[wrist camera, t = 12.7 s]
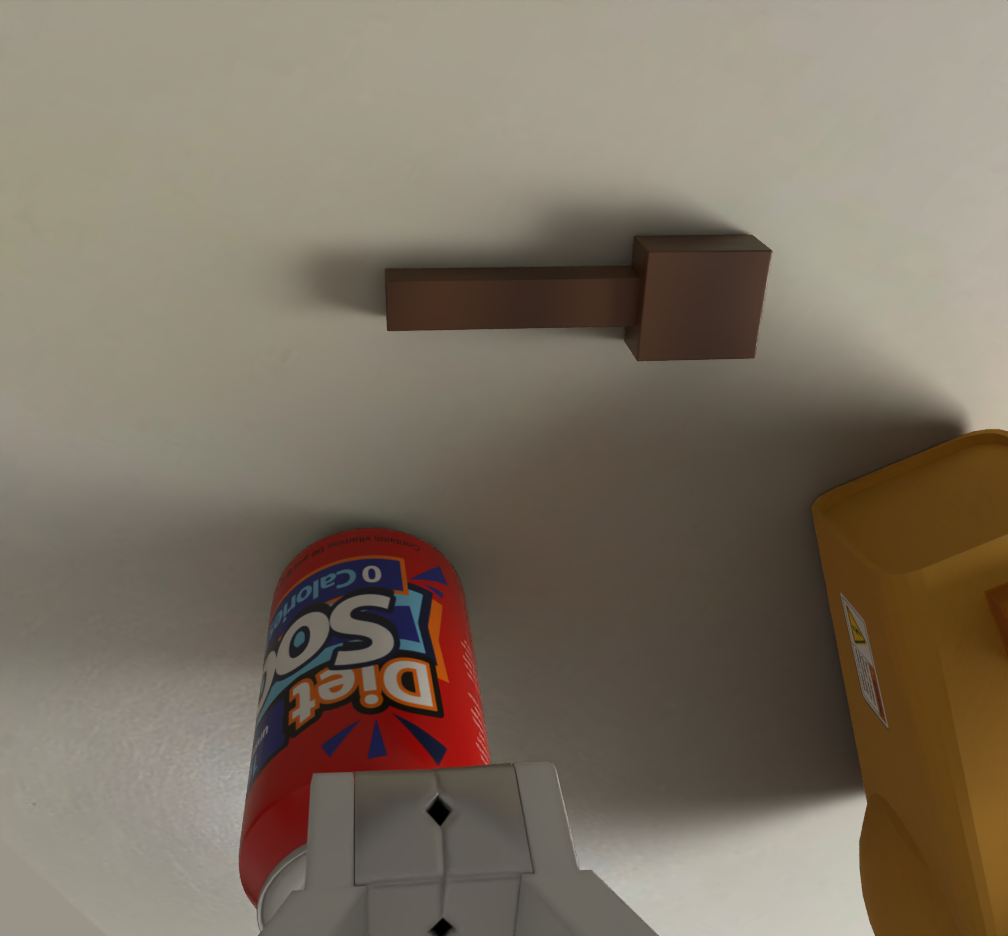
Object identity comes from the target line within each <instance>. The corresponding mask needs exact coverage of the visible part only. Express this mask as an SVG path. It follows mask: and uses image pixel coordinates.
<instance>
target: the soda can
mask: <svg viewBox="0 0 1008 936" xmlns="http://www.w3.org/2000/svg"><path fill="white" fill-rule="evenodd" d="M490 764H491V759H490V752H489V746H488V739H487V733H486V727H485V720H484V714H483V707H482V701H481V694H480V688H479V682H478V675H477V669H476V662H475V656H474V649H473V643H472V637H471V630H470V624H469V617H468V611H467V605H466V599H465V594H464V590H463V587H462V584H461V581H460V579H459V576H458V574H457V572H456V571H455V569H454V567H453V566H452V565H451V563H450V562H449V561H448V560H447V558H446V557H445V556H444V555H443V554H442V553H440V552H439V551H438V550H437V549H436V548H434V547H433V546H431V545H430V544H428V543H427V542H425V541H423V540H421V539H419V538H417V537H414V536H412V535H409V534H406V533H403V532H399V531H395V530H389V529H381V528H362V529H354V530H348V531H344V532H340V533H336V534H333V535H331V536H328V537H326V538H323V539H321V540H319V541H317V542H315V543H314V544H312V545H310V546H309V547H307V548H306V549H305V550H303V551H302V552H301V553H300V554H298V555H297V556H296V557H295V558H294V559H293V560H292V561H291V563H290V564H289V565H288V566H287V568H286V569H285V570H284V572H283V574H282V575H281V577H280V579H279V581H278V584H277V587H276V589H275V592H274V596H273V600H272V606H271V613H270V620H269V627H268V635H267V642H266V650H265V657H264V665H263V673H262V680H261V688H260V695H259V703H258V710H257V718H256V725H255V733H254V740H253V748H252V755H251V763H250V770H249V778H248V785H247V793H246V800H245V808H244V816H243V823H242V831H241V839H240V849H239V872H240V878H241V882H242V886H243V888H244V891H245V893H246V895H247V897H248V898H249V900H250V901H251V903H252V904H253V905H254V907H255V908H256V909H257V921H258V926H259V929H260V932H261V931H262V930H263V928H264V927H265V926H266V925H267V923H268V922H269V921H270V919H271V918H272V917H273V915H274V914H275V913H276V911H277V910H278V909H279V907H280V906H281V905H282V903H283V902H284V901H285V899H286V898H287V897H288V896H289V894H290V893H291V892H292V891H295V890H305V873H306V856H307V838H308V821H309V804H310V786H311V781H312V777H313V773H337V772H354V776H355V771H386V770H422V769H434V768H444V767H459V766H475V765H490Z"/></svg>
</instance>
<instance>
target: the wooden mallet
mask: <svg viewBox="0 0 1008 936" xmlns="http://www.w3.org/2000/svg"><path fill="white" fill-rule="evenodd" d="M771 257H772V250H771V249H770V248H768V247H767V246H766V245H765V244H763V243H762V242H761V241H759V240H758V239H757V238H756V237H754V236H753V235H668V236H634V243H633V253H632V264H631V266H592V267H506V268H420V269H385V291H386V319H387V330H388V331H417V330H468V329H518V328H569V327H620V326H626V327H625V338H624V341H625V343H626V344H627V346H628V347H629V349H630V350H631V352H632V354H633V355H634V357H635V358H636V360H637V361H667V360H708V359H749V358H755V353H756V347H757V341H758V335H759V329H760V323H761V317H762V311H763V305H764V299H765V293H766V287H767V281H768V275H769V269H770V263H771Z"/></svg>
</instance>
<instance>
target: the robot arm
mask: <svg viewBox="0 0 1008 936" xmlns="http://www.w3.org/2000/svg"><path fill="white" fill-rule="evenodd" d="M258 936H659V935H658V934H657V933H656V932H655V931H654V930H653V929H652V928H651V927H649V926H648V925H647V924H646V923H645V922H644V921H643V920H642V919H641V918H640V917H639V916H638V915H637V914H636V913H635V912H634V911H633V910H632V909H631V908H630V907H629V906H628V905H627V904H626V903H625V902H624V901H623V900H622V899H621V898H620V897H619V896H618V895H617V894H616V893H615V892H614V891H613V890H612V889H611V888H610V887H609V886H608V885H607V884H606V883H605V882H604V881H603V880H602V879H600V878H599V877H598V876H597V875H596V874H595V873H594V872H593V871H592V870H580V868H579V864H578V860H577V855H576V851H575V847H574V842H573V838H572V834H571V830H570V825H569V821H568V817H567V813H566V808H565V804H564V800H563V795H562V791H561V787H560V783H559V778H558V774H557V770H556V767H555V765H554V764H553V763H552V761H546V762H528V763H513V764H512V765H511V763H505V764H490V765H475V766H459V767H444V768H434V769H422V770H386V771H355V776H354V772H337V773H313V777H312V781H311V786H310V804H309V821H308V838H307V856H306V873H305V890H295V891H292V892H291V893H290V894H289V896H288V897H287V898H286V899H285V901H284V902H283V903H282V905H281V906H280V907H279V909H278V910H277V911H276V913H275V914H274V915H273V917H272V918H271V919H270V921H269V922H268V923H267V925H266V926H265V927H264V928H263V930H262V931H261V932H260V934H259V935H258Z"/></svg>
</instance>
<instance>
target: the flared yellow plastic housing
mask: <svg viewBox="0 0 1008 936" xmlns="http://www.w3.org/2000/svg"><path fill="white" fill-rule="evenodd" d="M811 510H812V515H813V520H814V525H815V531H816V536H817V541H818V547H819V552H820V557H821V562H822V568H823V573H824V578H825V583H826V589H827V594H828V599H829V604H830V610H831V615H832V620H833V626H834V631H835V636H836V641H837V647H838V652H839V657H840V662H841V668H842V673H843V678H844V683H845V689H846V694H847V699H848V705H849V710H850V715H851V720H852V726H853V731H854V736H855V741H856V747H857V752H858V757H859V762H860V768H861V773H862V778H863V783H864V789H865V794H866V799H867V807H866V812H865V816H864V821H863V826H862V831H861V836H860V841H859V859H860V876H861V884H862V893H863V898H864V902H865V906H866V909H867V913H868V917H869V921H870V924H871V926H872V929H873V932H874V934H875V936H1008V431H1004V430H1000V429H986V430H980V431H974V432H971V433H967V434H964V435H961V436H959V437H956V438H954V439H951V440H949V441H947V442H944V443H942V444H939V445H937V446H935V447H932V448H930V449H927V450H925V451H923V452H920V453H918V454H915V455H913V456H911V457H908V458H906V459H903V460H901V461H899V462H896V463H894V464H891V465H889V466H887V467H884V468H882V469H879V470H877V471H875V472H872V473H870V474H868V475H865V476H863V477H860V478H858V479H856V480H853V481H851V482H848V483H846V484H844V485H841V486H839V487H836V488H834V489H832V490H830V491H828V492H826V493H824V494H822V495H821V496H820V497H819V498H817V499H816V500H815V501H814V503H813V505H812V507H811Z"/></svg>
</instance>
